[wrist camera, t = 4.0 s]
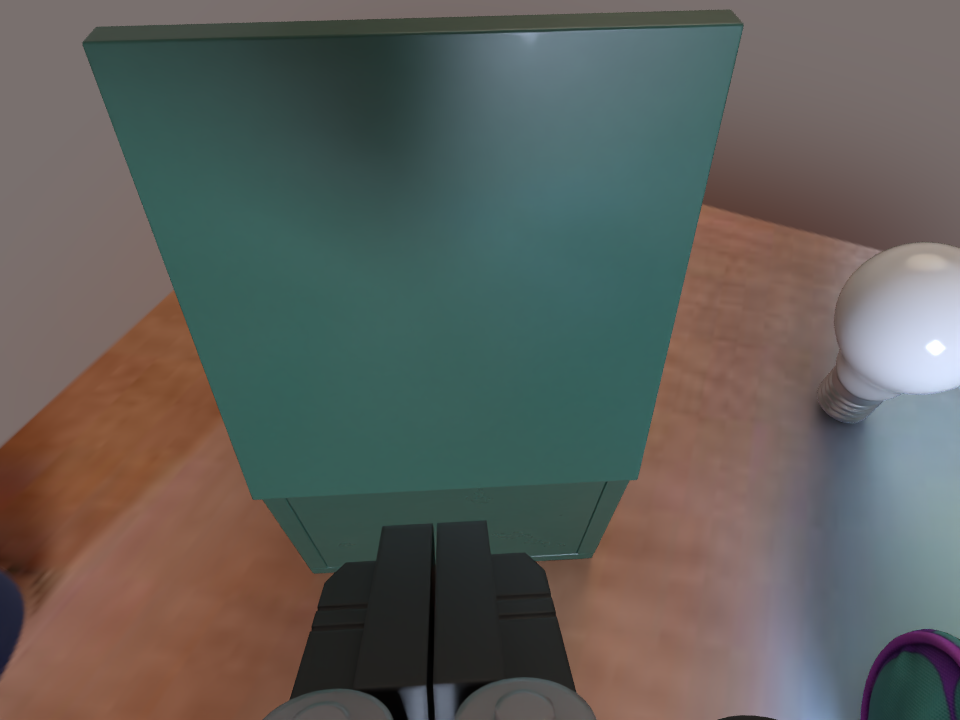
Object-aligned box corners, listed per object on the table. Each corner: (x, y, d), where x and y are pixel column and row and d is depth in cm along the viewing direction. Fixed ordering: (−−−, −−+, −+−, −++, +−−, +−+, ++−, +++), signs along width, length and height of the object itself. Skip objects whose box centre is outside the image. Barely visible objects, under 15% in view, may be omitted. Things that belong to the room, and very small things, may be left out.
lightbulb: (828, 333, 40) (938, 186, 30) (928, 416, 37) (1083, 284, 28) (749, 395, 38) (841, 258, 28) (850, 487, 35) (987, 371, 26)
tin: (327, 323, 40) (289, 194, 31) (558, 312, 40) (580, 184, 32) (312, 574, 33) (257, 495, 24) (592, 558, 33) (632, 475, 25)
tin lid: (95, 25, 14) (79, 42, 14) (732, 8, 15) (745, 23, 14) (256, 479, 24) (252, 500, 24) (632, 460, 25) (637, 480, 24)
